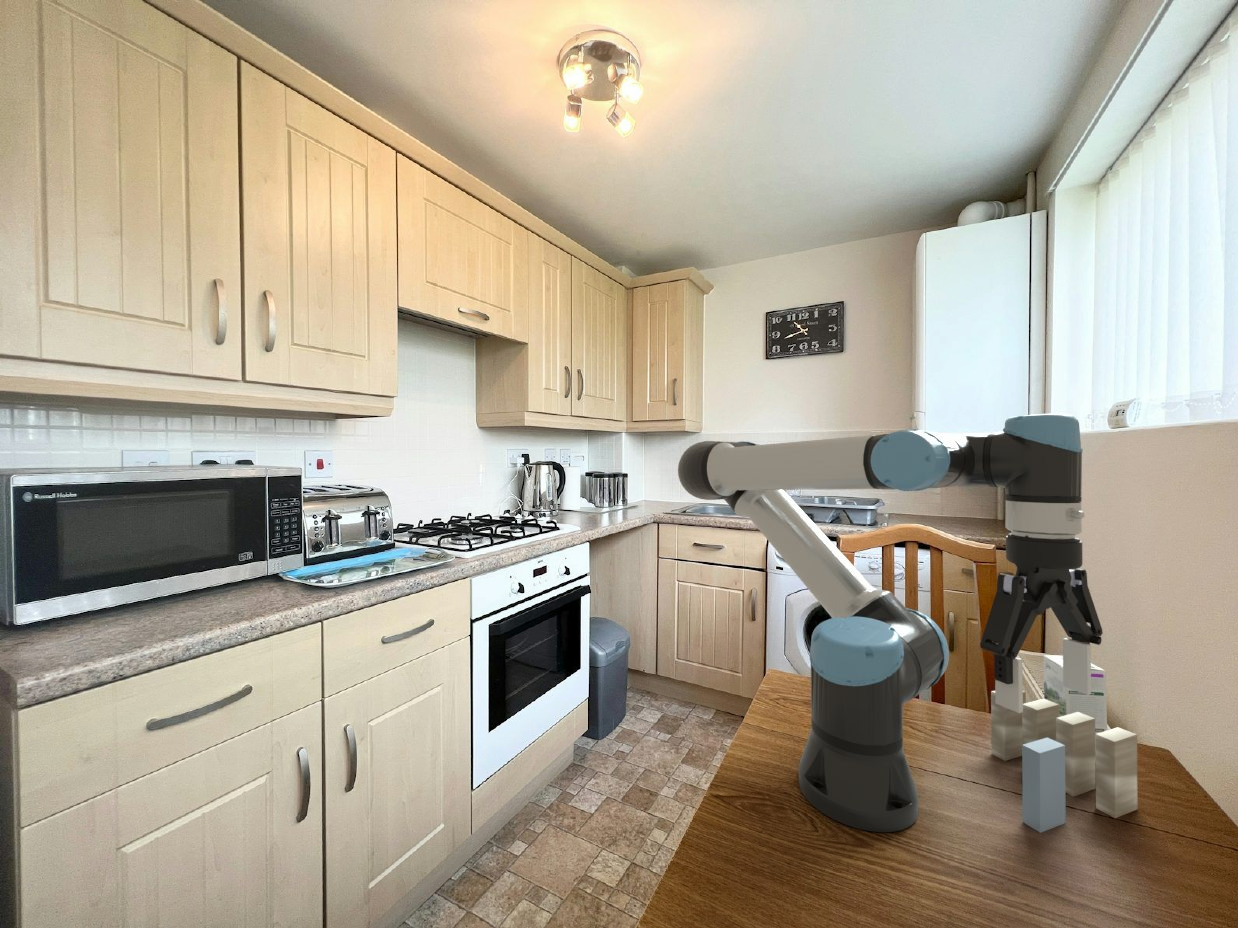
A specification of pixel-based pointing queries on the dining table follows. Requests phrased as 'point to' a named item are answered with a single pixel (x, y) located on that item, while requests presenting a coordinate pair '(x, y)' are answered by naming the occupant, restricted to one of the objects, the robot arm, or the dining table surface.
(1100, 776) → the domino
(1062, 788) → the domino
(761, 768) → the dining table surface
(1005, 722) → the domino
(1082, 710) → the syrup box
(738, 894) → the dining table surface
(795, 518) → the robot arm
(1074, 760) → the domino
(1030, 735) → the domino
